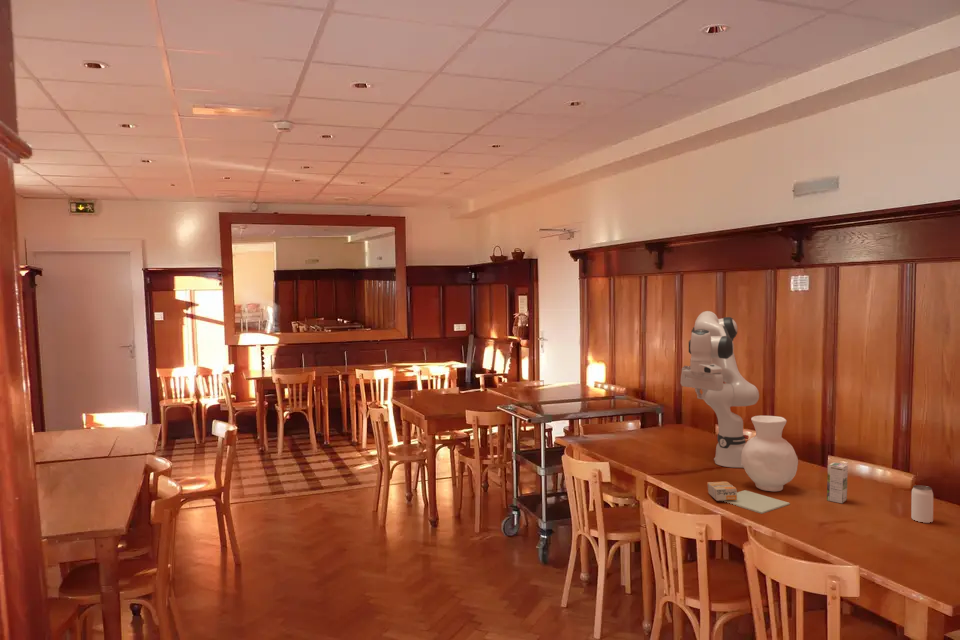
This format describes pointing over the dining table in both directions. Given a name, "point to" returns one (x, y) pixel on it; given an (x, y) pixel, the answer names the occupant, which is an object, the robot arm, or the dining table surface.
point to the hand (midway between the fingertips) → (701, 398)
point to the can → (922, 504)
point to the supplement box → (722, 491)
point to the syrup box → (837, 482)
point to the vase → (769, 454)
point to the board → (756, 502)
